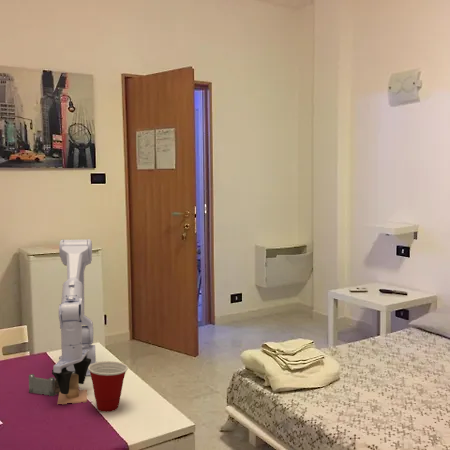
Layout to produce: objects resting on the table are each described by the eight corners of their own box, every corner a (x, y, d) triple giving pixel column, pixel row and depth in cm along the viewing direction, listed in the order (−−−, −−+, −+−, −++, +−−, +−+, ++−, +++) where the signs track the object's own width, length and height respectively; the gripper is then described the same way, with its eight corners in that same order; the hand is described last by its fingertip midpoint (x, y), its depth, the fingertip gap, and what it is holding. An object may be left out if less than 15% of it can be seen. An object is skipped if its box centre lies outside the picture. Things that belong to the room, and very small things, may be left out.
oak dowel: (72, 392, 155) (72, 372, 155) (81, 395, 153) (81, 375, 153) (63, 396, 152) (62, 376, 151) (72, 399, 150) (71, 379, 150)
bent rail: (76, 387, 160) (76, 370, 160) (76, 394, 155) (75, 377, 155) (29, 391, 157) (29, 374, 157) (27, 398, 152) (26, 381, 151)
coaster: (87, 391, 158) (87, 389, 157) (86, 402, 150) (86, 400, 150) (59, 393, 156) (59, 391, 156) (57, 404, 148) (57, 403, 148)
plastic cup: (134, 410, 144) (133, 368, 143) (95, 419, 139) (94, 375, 138) (120, 396, 154) (120, 356, 153) (84, 404, 148) (83, 363, 147)
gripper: (74, 334, 159) (75, 377, 161) (43, 349, 146) (45, 396, 147) (94, 336, 157) (95, 380, 158) (65, 351, 143) (66, 399, 145)
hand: (72, 388), depth 152 cm, fingers open, 7 cm apart
